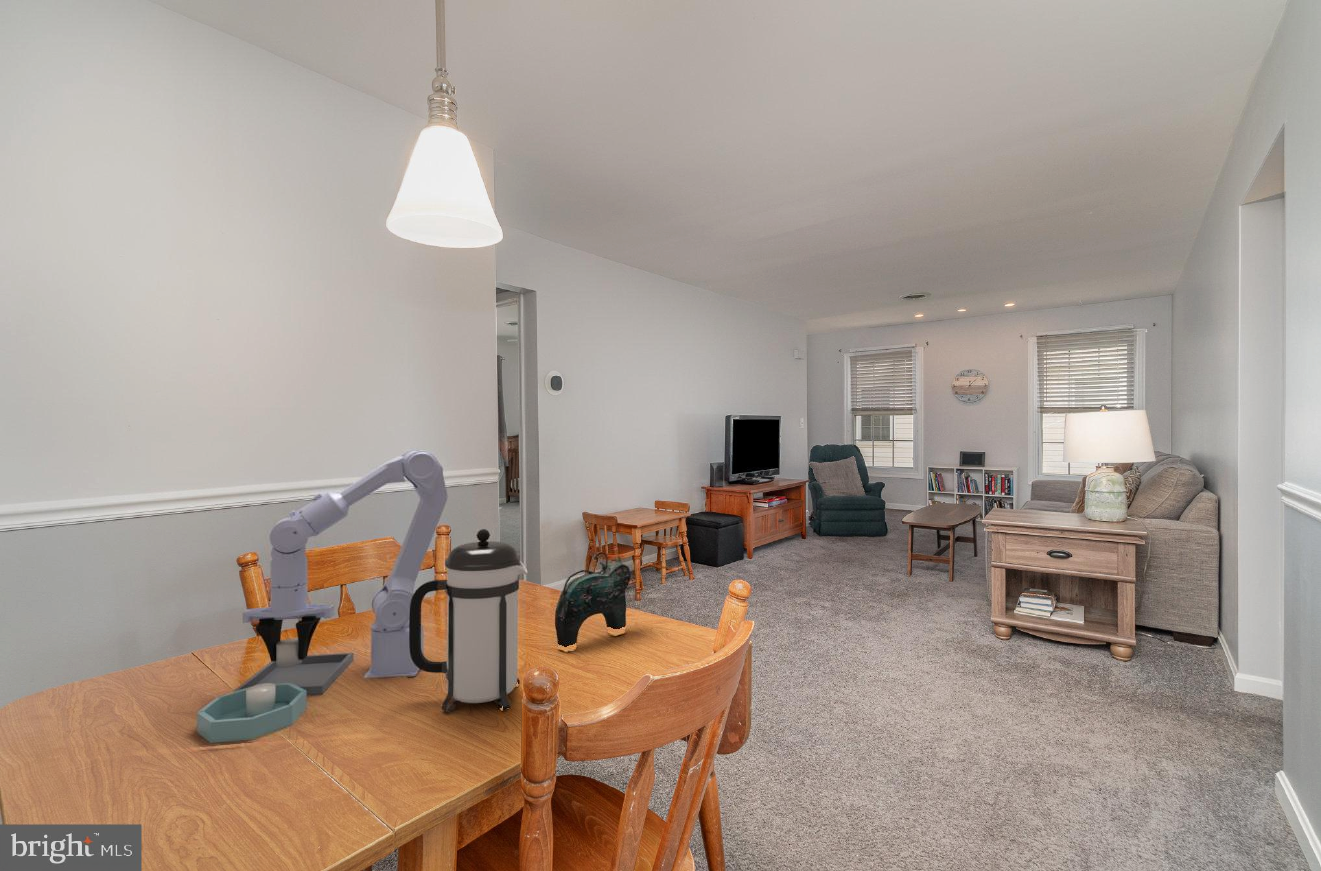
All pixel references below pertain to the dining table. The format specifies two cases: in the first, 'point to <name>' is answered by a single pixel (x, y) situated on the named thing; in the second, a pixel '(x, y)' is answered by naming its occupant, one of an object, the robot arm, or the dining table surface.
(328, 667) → the parts tray
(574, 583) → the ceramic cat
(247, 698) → the pebble
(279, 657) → the pebble
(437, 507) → the robot arm
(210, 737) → the bowl
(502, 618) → the coffee press
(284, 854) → the dining table surface
